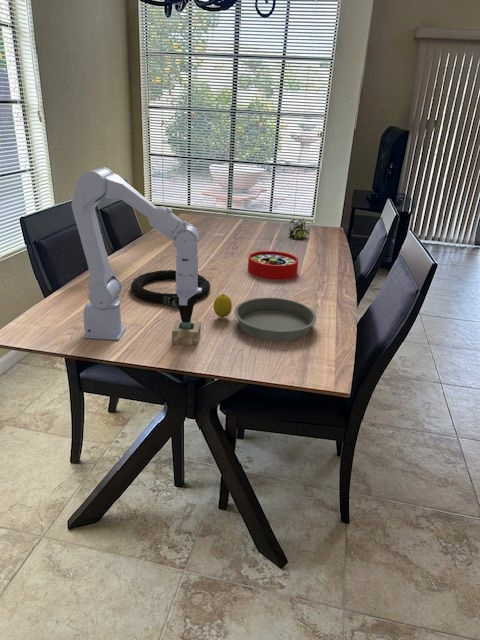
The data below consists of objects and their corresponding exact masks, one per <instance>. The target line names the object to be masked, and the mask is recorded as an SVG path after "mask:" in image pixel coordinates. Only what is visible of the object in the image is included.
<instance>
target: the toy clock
mask: <svg viewBox="0 0 480 640" xmlns="http://www.w3.org/2000/svg"><path fill="white" fill-rule="evenodd" d="M247 259H248V263H247V272H248V273H249V274H250V275H252V276H254V277H257V278H260V279H263V280H270V281H271V280H274V281H275V280H276V281H283V280H289V279H293V278H295V277H297V275H298V270H299V269H298V266H299V258H298V257H297V256H295V255H293V254H291V253H287V252H281V251H275V250H260V251H255V252H251V253H250V254H249V255H248V258H247Z"/></svg>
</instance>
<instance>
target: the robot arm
mask: <svg viewBox="0 0 480 640" xmlns="http://www.w3.org/2000/svg"><path fill="white" fill-rule="evenodd" d="M74 185H75V189H74V193H73V196H72V200H71V209H72V213H73V217H74V220H75V224H76V227H77V228H76V229H77V232H78V234H79V237H80V238H79V239H80V241H81V242H80V243H81V245H82V249H83V253H84V256H85V260H86V264H87V267H88V271H89V276H88V283H87V284H88V290H89V291H88V295H87V297H88V300H89V302H87V303H85V306H84V309H83V324H84V334H85V335H84V338H85V339H93V340H96V339H97V340H110V341H111V340H114V341H118V340H120V339H121V337H122V335H123V334H124V332H125V331H126V329H127V327H126V326H125V325H122V316H121V315H122V314H121V301H120V298H119V294H121V292H122V283H121V281H120V280H119V279H118V278H117V275H116V273H115V271H114V269H113V268H112V267H111V266H110V263H109V258H108V254H107V251H106V247H105V244H104V239H103V234H102V232H101V227H100V224H99V220H98V215H97V211H96V207H97V206H98V204H100V201H101V200H102V199H103V198H104V197H105V199H112V200H113V199H118V200H121V201H122V202H124V203H125V204H127V205H129V206H130V207H131V208H133V209H135V210H136V211H138V212H139V213H141V214H142V215H143V216H146V217H147V219H148V221H149V225H150V227H152V228H153V229H155V230H156V231H157V232H159V233H160V234H162V236H165V237H166V238H167V239H169V240H170V241H172V242H173V245H174V248H175V249H176V254H175V271H176V280H175V288H174V289H175V290H174V291H175V294H177V295H178V297H175V303H176V305H177V307H178V308H177V309H178V312H179V315H180V320H182V322H185V323H190V319H191V320H192V316H193V311H194V306H195V304H196V302H197V301H198V300H197V299H196V298H197V296H198V293H201V292H202V288H200V287H198V286H199V285H198V275H199V256H198V253H199V252H198V251H199V250H198V249H199V248H198V247H199V246H198V243H199V241H200V232H199V230H198V229H197V227H195V224H192V223H188V221H187V220H182V219H181V218H180V217H178V216H177V215H176V214H175V213H173V209H172V208H170V207H167V208H166V207H165V206H163V205H162V206H161V205H160V206H156V205H155V204H153V203H152V202H151V201H149V200H148V199H147V198H146V197H145V196H143V195H142V194H141V193H140V192H139V191H137V190H136V189H135V188H134V187H133V186H131V185H130V183H128V182H126V181H125V180H124V179H123V178H122V177H121V176H120V175H119V174H117V173H114V171H112V170H111V169H110V168H108V167H104V166H99V167H97V168H95V169H92V170H89V171H85V172H83V173H82V174H80V176H79V178H77V180H76V181H75V182H74ZM190 298H191V299H190Z"/></svg>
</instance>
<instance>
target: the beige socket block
mask: <svg viewBox="0 0 480 640" xmlns="http://www.w3.org/2000/svg"><path fill="white" fill-rule="evenodd" d="M201 325H202V323H201V320H200V321H197V320H191V329H182V320H181V319H175V322H174V324H173V327H172V328H171V345H179V346H180V345H183V346H184V345H185V346H198V345H199V343H200V338H201Z"/></svg>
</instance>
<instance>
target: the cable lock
mask: <svg viewBox="0 0 480 640" xmlns="http://www.w3.org/2000/svg"><path fill="white" fill-rule="evenodd" d="M165 280H175V281H176V269H175V270H173V269H169V270H165V269H163V270H156V271H151V272H150V271H149V272H145V273H143V274H141V275H139V276H137V277H135V278H134V279H133V281H132V282H131V283H130V289H131V292H132V293H133V294H134V295H135V297H137V298H138V299H141V300H142V301H146V302H149V303H152V304H163V305H165V306H171V308H174V309H178V307H177V305H176V303H175V297H178V295H177V293H170V292H169V293H167V292H166V293H165V292H163V293H161V292H156V291H151V290H148V289H146V288H144V287H143V286H144V285H146V284H148V283H152V282H156V281H165ZM198 286H199V288H202V292H201V293H198V296H197V298H196V299H197V300H196V301H199V300H202V299H203V298H204V297H206V296H207V295H208V293H209V292H210V291H211V284H210V281H209V280H207V278H205V276H202V275H200V274H198Z"/></svg>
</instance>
